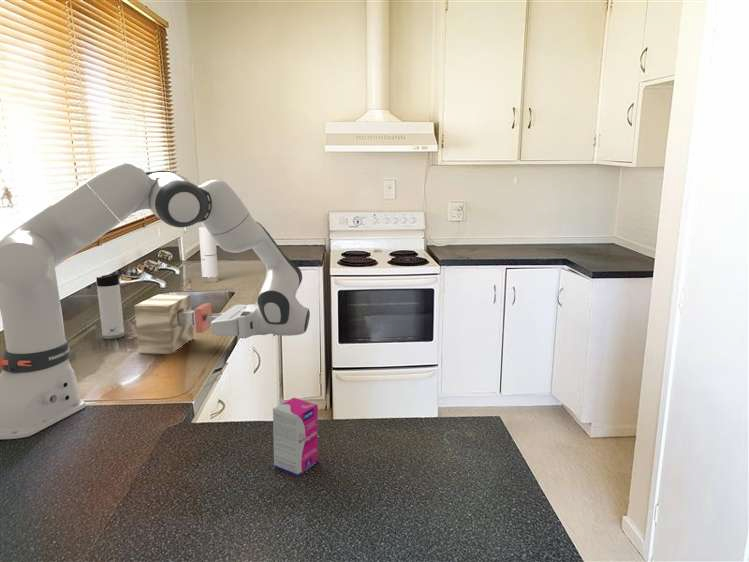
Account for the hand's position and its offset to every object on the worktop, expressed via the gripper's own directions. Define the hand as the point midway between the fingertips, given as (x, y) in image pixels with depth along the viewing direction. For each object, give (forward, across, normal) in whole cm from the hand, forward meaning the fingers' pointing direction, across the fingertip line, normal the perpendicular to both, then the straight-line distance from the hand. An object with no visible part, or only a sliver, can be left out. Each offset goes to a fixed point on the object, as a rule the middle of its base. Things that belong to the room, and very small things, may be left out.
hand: (208, 318), depth 160 cm
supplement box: (-42, +61, +9) cm, 74 cm away
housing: (+13, 0, +9) cm, 16 cm away
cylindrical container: (+38, -90, +9) cm, 98 cm away
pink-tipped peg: (+7, 0, +3) cm, 8 cm away
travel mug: (+34, -7, +9) cm, 36 cm away
